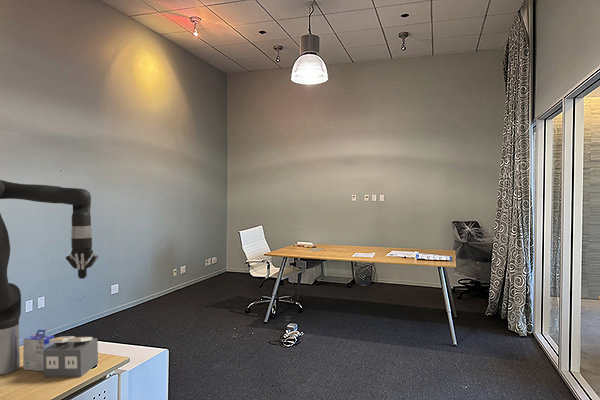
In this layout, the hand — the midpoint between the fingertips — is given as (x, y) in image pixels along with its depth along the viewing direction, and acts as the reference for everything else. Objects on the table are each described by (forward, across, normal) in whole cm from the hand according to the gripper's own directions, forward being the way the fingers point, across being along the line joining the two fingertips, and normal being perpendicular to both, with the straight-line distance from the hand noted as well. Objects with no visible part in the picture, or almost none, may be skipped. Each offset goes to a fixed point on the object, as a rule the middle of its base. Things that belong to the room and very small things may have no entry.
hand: (82, 278), depth 165 cm
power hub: (+33, +2, -12) cm, 35 cm away
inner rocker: (+21, -2, -12) cm, 24 cm away
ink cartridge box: (+33, -12, -10) cm, 37 cm away
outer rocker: (+21, +6, -12) cm, 25 cm away
